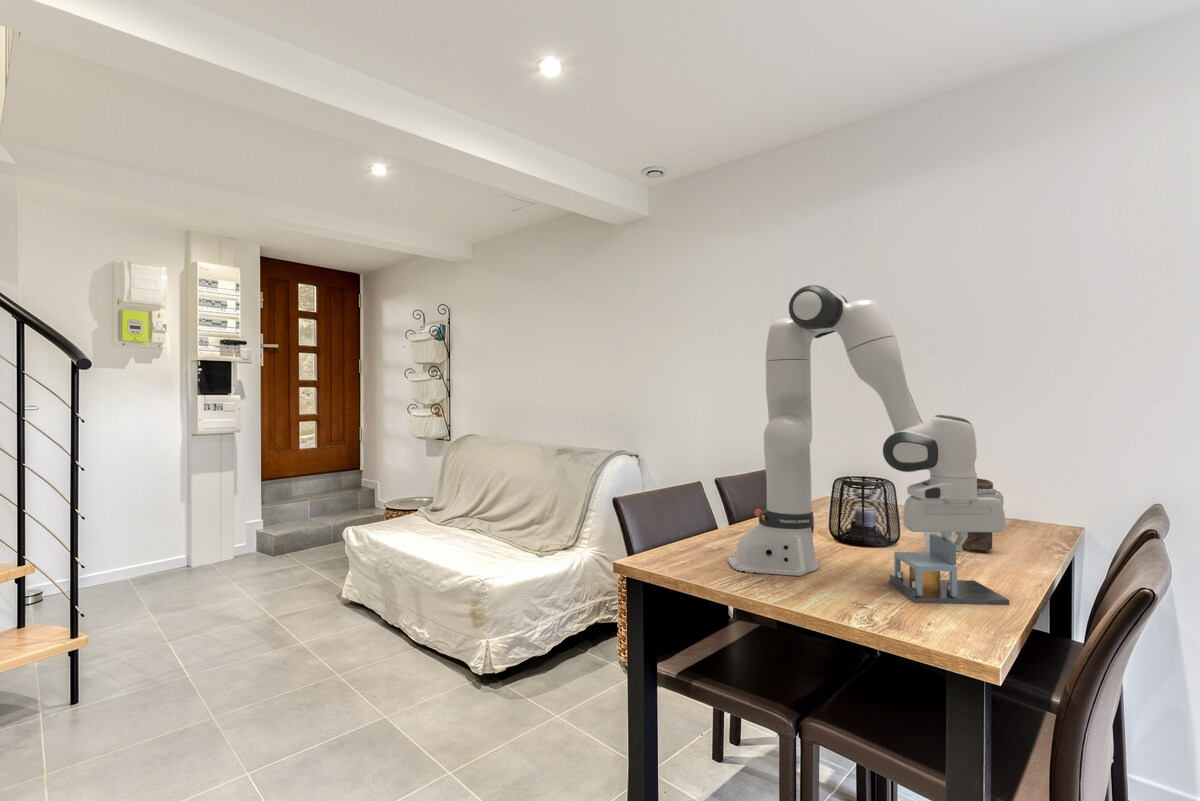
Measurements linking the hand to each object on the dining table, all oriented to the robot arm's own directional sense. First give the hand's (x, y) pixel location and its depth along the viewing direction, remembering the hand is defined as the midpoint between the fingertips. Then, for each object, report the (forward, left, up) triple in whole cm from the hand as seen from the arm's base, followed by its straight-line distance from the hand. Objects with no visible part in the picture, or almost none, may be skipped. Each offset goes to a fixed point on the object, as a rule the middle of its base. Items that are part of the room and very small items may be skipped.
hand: (954, 551), depth 129 cm
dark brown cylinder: (+25, +38, -9) cm, 47 cm away
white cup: (+13, +34, -9) cm, 38 cm away
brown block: (-6, 0, -8) cm, 10 cm away
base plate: (-2, 0, -9) cm, 9 cm away
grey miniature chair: (-6, 0, -8) cm, 10 cm away
